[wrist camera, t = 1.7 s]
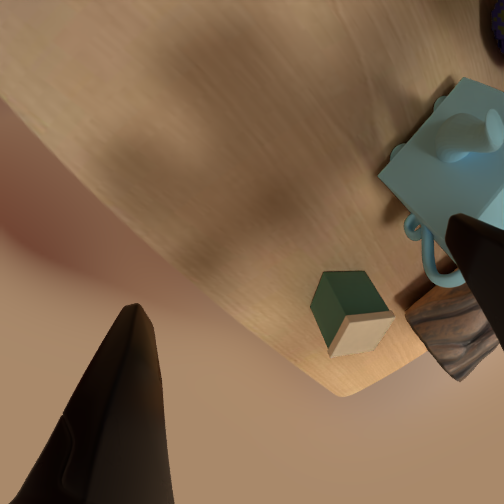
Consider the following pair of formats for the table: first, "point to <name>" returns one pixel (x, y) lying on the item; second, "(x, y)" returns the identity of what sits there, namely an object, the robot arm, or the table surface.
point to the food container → (350, 313)
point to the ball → (498, 23)
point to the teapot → (451, 169)
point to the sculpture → (452, 328)
